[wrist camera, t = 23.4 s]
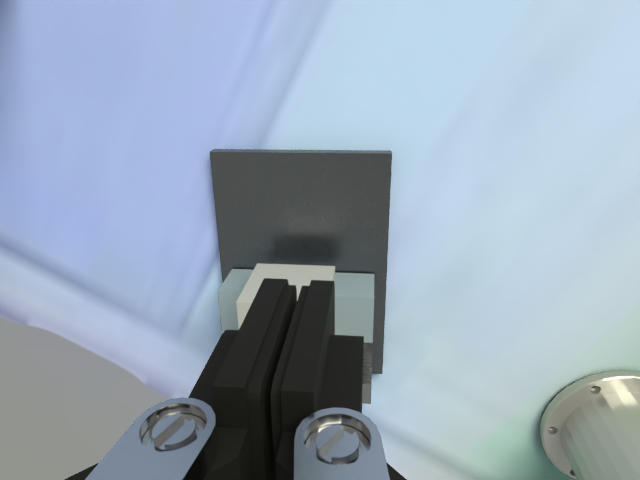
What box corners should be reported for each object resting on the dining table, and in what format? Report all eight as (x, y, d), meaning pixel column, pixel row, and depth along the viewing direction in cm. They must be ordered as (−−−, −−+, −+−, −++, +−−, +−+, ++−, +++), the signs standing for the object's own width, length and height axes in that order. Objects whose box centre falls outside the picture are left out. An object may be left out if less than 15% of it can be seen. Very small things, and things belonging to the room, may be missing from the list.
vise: (391, 150, 36) (393, 165, 32) (381, 366, 44) (382, 404, 39) (213, 149, 38) (191, 163, 33) (233, 358, 45) (218, 393, 41)
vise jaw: (375, 251, 38) (375, 307, 30) (372, 316, 41) (372, 384, 32) (230, 247, 40) (191, 299, 31) (235, 309, 42) (201, 374, 34)
